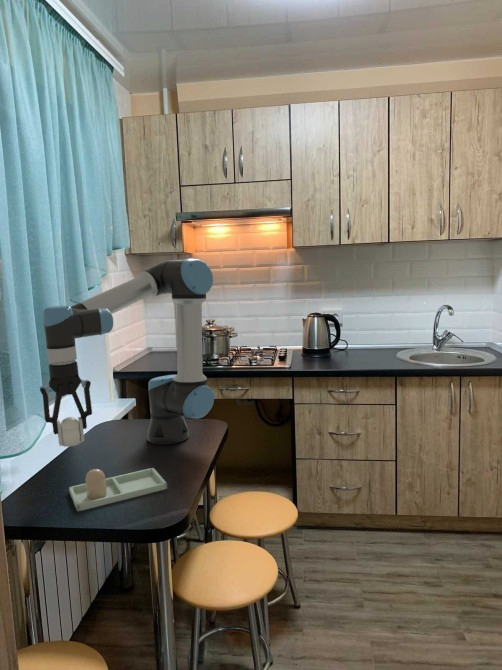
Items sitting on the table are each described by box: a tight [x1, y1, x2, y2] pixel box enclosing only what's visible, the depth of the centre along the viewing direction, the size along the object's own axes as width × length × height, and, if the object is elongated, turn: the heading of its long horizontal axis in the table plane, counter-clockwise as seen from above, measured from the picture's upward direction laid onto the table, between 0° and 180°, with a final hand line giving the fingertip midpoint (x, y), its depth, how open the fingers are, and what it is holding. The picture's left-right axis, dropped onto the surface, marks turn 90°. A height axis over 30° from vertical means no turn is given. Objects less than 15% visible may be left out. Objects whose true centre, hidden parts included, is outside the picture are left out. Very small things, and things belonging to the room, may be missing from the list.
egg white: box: [60, 416, 82, 448], centre depth 146 cm, size 5×5×8 cm
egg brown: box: [84, 468, 107, 500], centre depth 142 cm, size 5×5×8 cm
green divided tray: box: [68, 467, 168, 512], centre depth 145 cm, size 24×13×2 cm, turn 118°
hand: (71, 442), depth 146 cm, fingers closed on egg white, 5 cm apart
